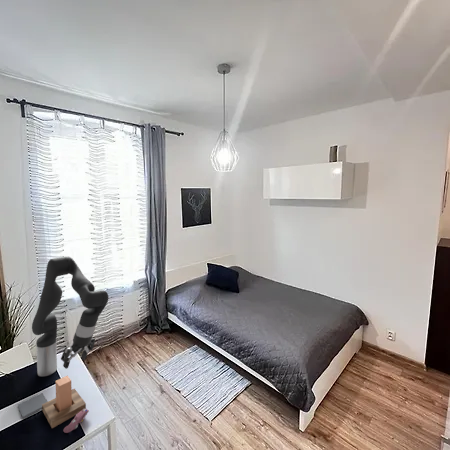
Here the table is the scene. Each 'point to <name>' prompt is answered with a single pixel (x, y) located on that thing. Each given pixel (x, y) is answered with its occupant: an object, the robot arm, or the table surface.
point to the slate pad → (32, 405)
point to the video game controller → (76, 421)
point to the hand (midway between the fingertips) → (74, 363)
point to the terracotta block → (63, 393)
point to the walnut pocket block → (58, 418)
